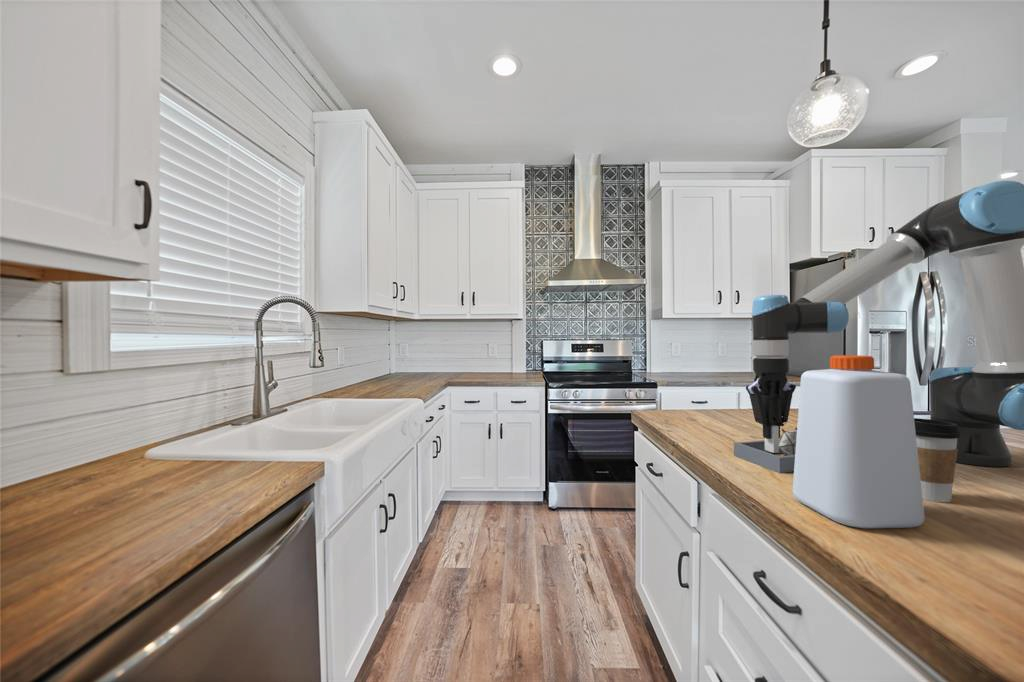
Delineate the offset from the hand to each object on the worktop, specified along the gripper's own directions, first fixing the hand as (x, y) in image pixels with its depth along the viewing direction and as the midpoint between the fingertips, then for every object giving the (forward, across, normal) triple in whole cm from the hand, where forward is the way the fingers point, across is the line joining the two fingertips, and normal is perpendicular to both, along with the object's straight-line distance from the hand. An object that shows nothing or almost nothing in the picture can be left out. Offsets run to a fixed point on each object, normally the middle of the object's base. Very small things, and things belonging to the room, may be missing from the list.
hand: (771, 451), depth 99 cm
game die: (+3, -7, 0) cm, 8 cm away
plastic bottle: (+3, +10, +27) cm, 28 cm away
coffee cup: (+3, -11, +25) cm, 28 cm away
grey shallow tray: (+3, -4, 0) cm, 5 cm away
